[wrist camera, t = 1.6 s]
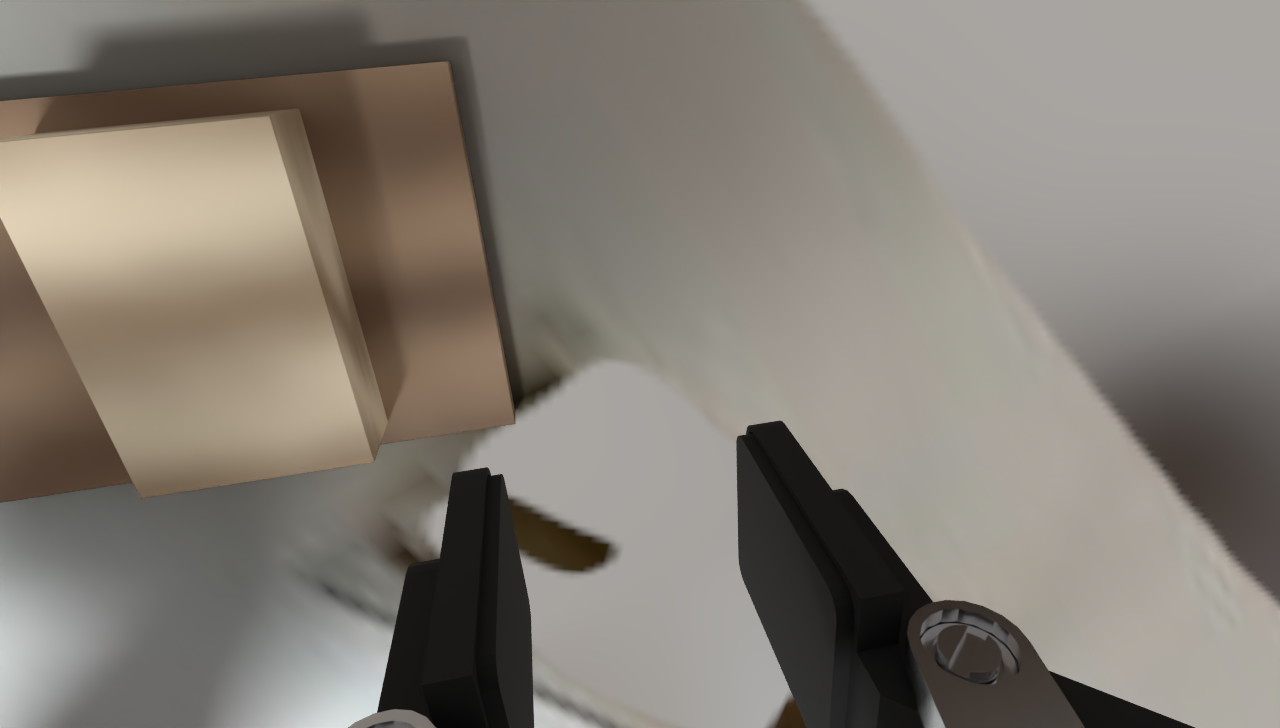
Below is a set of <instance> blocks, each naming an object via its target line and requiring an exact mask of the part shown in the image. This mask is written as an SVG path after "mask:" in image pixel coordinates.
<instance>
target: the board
mask: <svg viewBox="0 0 1280 728" xmlns="http://www.w3.org/2000/svg"><path fill="white" fill-rule="evenodd" d="M298 108H299V110H300V113H301V117H302V120H303V124H304V127H305V131H306V135H307V138H308V142H309V145H310V149H311V152H312V156H313V159H314V163H315V166H316V170H317V173H318V177H319V180H320V184H321V187H322V191H323V194H324V198H325V202H326V205H327V209H328V212H329V216H330V219H331V223H332V226H333V230H334V233H335V237H336V240H337V244H338V247H339V251H340V254H341V258H342V261H343V265H344V269H345V272H346V276H347V279H348V283H349V286H350V290H351V293H352V297H353V300H354V304H355V307H356V311H357V314H358V318H359V321H360V325H361V328H362V332H363V336H364V339H365V343H366V346H367V350H368V353H369V357H370V360H371V364H372V367H373V371H374V374H375V378H376V381H377V385H378V388H379V392H380V395H381V399H382V403H383V406H384V410H385V413H386V417H387V420H388V423H387V426H386V429H385V432H384V435H383V438H382V441H381V443H380V444H387V443H394V442H400V441H407V440H413V439H420V438H426V437H433V436H439V435H446V434H452V433H459V432H465V431H472V430H478V429H485V428H492V427H498V426H505V425H511V424H515V409H514V403H513V398H512V392H511V387H510V382H509V376H508V371H507V365H506V360H505V355H504V349H503V344H502V338H501V333H500V328H499V322H498V317H497V312H496V306H495V301H494V295H493V290H492V285H491V279H490V274H489V268H488V263H487V258H486V252H485V247H484V241H483V236H482V231H481V225H480V220H479V215H478V209H477V204H476V198H475V193H474V188H473V182H472V177H471V171H470V166H469V161H468V155H467V150H466V144H465V139H464V134H463V128H462V123H461V118H460V112H459V107H458V101H457V96H456V91H455V85H454V80H453V74H452V69H451V64H450V61H443V62H432V63H421V64H410V65H398V66H387V67H376V68H365V69H354V70H342V71H331V72H320V73H309V74H297V75H286V76H275V77H264V78H252V79H241V80H230V81H219V82H208V83H196V84H185V85H174V86H163V87H151V88H140V89H129V90H118V91H107V92H95V93H84V94H73V95H62V96H50V97H39V98H28V99H17V100H5V101H0V139H5V138H11V137H17V136H23V135H28V134H34V133H44V132H55V131H66V130H76V129H87V128H97V127H108V126H118V125H129V124H139V123H150V122H161V121H171V120H182V119H192V118H203V117H213V116H224V115H234V114H245V113H256V112H266V111H277V110H287V109H298ZM126 483H132V480H131V478H130V476H129V474H128V472H127V470H126V468H125V466H124V464H123V462H122V460H121V458H120V456H119V454H118V452H117V450H116V448H115V446H114V444H113V442H112V440H111V438H110V436H109V434H108V432H107V430H106V428H105V426H104V424H103V422H102V420H101V418H100V416H99V414H98V412H97V410H96V408H95V406H94V404H93V402H92V400H91V398H90V396H89V394H88V392H87V390H86V388H85V386H84V384H83V382H82V380H81V378H80V376H79V374H78V372H77V370H76V368H75V366H74V364H73V362H72V360H71V358H70V356H69V354H68V352H67V350H66V348H65V346H64V344H63V342H62V340H61V338H60V336H59V334H58V332H57V330H56V328H55V326H54V324H53V322H52V320H51V318H50V316H49V314H48V312H47V310H46V308H45V306H44V304H43V302H42V300H41V298H40V296H39V294H38V292H37V290H36V288H35V286H34V284H33V282H32V280H31V278H30V276H29V274H28V272H27V270H26V268H25V266H24V264H23V262H22V260H21V258H20V256H19V254H18V252H17V250H16V248H15V246H14V244H13V242H12V240H11V238H10V236H9V234H8V232H7V230H6V228H5V226H4V224H3V222H2V220H1V218H0V503H1V502H8V501H15V500H21V499H28V498H34V497H41V496H47V495H54V494H60V493H67V492H73V491H80V490H86V489H93V488H99V487H106V486H113V485H119V484H126Z"/></svg>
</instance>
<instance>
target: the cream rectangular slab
mask: <svg viewBox="0 0 1280 728" xmlns="http://www.w3.org/2000/svg"><path fill="white" fill-rule="evenodd" d="M0 218H1V220H2V222H3V224H4V226H5V228H6V230H7V232H8V234H9V236H10V238H11V240H12V242H13V244H14V246H15V248H16V250H17V252H18V254H19V256H20V258H21V260H22V262H23V264H24V266H25V268H26V270H27V272H28V274H29V276H30V278H31V280H32V282H33V284H34V286H35V288H36V290H37V292H38V294H39V296H40V298H41V300H42V302H43V304H44V306H45V308H46V310H47V312H48V314H49V316H50V318H51V320H52V322H53V324H54V326H55V328H56V330H57V332H58V334H59V336H60V338H61V340H62V342H63V344H64V346H65V348H66V350H67V352H68V354H69V356H70V358H71V360H72V362H73V364H74V366H75V368H76V370H77V372H78V374H79V376H80V378H81V380H82V382H83V384H84V386H85V388H86V390H87V392H88V394H89V396H90V398H91V400H92V402H93V404H94V406H95V408H96V410H97V412H98V414H99V416H100V418H101V420H102V422H103V424H104V426H105V428H106V430H107V432H108V434H109V436H110V438H111V440H112V442H113V444H114V446H115V448H116V450H117V452H118V454H119V456H120V458H121V460H122V462H123V464H124V466H125V468H126V470H127V472H128V474H129V476H130V478H131V480H132V482H133V484H134V486H135V488H136V490H137V492H138V494H139V496H140V498H141V499H142V498H148V497H154V496H161V495H167V494H174V493H180V492H186V491H193V490H199V489H206V488H212V487H219V486H225V485H231V484H238V483H244V482H251V481H257V480H263V479H270V478H276V477H283V476H289V475H296V474H302V473H308V472H315V471H321V470H328V469H334V468H340V467H347V466H353V465H360V464H366V463H373V462H374V461H375V458H376V455H377V452H378V449H379V446H380V443H381V441H382V438H383V435H384V432H385V429H386V426H387V423H388V420H387V417H386V413H385V410H384V406H383V403H382V399H381V395H380V392H379V388H378V385H377V381H376V378H375V374H374V371H373V367H372V364H371V360H370V357H369V353H368V350H367V346H366V343H365V339H364V336H363V332H362V328H361V325H360V321H359V318H358V314H357V311H356V307H355V304H354V300H353V297H352V293H351V290H350V286H349V283H348V279H347V276H346V272H345V269H344V265H343V261H342V258H341V254H340V251H339V247H338V244H337V240H336V237H335V233H334V230H333V226H332V223H331V219H330V216H329V212H328V209H327V205H326V202H325V198H324V194H323V191H322V187H321V184H320V180H319V177H318V173H317V170H316V166H315V163H314V159H313V156H312V152H311V149H310V145H309V142H308V138H307V135H306V131H305V127H304V124H303V120H302V117H301V113H300V110H299V108H298V109H287V110H277V111H266V112H256V113H245V114H234V115H224V116H213V117H203V118H192V119H182V120H171V121H161V122H150V123H139V124H129V125H118V126H108V127H97V128H87V129H76V130H66V131H55V132H44V133H34V134H28V135H23V136H17V137H11V138H5V139H0Z"/></svg>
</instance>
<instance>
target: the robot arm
mask: <svg viewBox="0 0 1280 728" xmlns="http://www.w3.org/2000/svg"><path fill="white" fill-rule="evenodd" d="M737 492H738V493H737V494H738V496H737V497H738V549H739V565H740V570H741V574H742V578H743V581H744V583H745V585H746V588H747V590H748V592H749V594H750V597H751V599H752V601H753V604H754V606H755V609H756V611H757V613H758V616H759V618H760V620H761V623H762V625H763V627H764V630H765V632H766V634H767V637H768V639H769V641H770V643H771V646H772V648H773V650H774V653H775V655H776V657H777V660H778V662H779V664H780V667H781V669H782V671H783V673H784V676H785V678H786V681H787V683H788V685H789V688H790V690H791V692H792V695H793V697H794V699H795V702H796V704H797V706H798V709H799V711H800V713H801V716H802V718H803V720H804V723H805V725H806V727H807V728H1195V727H1192V726H1189V725H1187V724H1184V723H1182V722H1179V721H1177V720H1174V719H1171V718H1169V717H1166V716H1164V715H1161V714H1159V713H1156V712H1154V711H1151V710H1148V709H1146V708H1143V707H1141V706H1138V705H1136V704H1133V703H1130V702H1128V701H1125V700H1123V699H1120V698H1118V697H1115V696H1112V695H1110V694H1107V693H1105V692H1102V691H1100V690H1097V689H1094V688H1092V687H1089V686H1087V685H1084V684H1082V683H1079V682H1076V681H1074V680H1071V679H1069V678H1066V677H1064V676H1061V675H1058V674H1056V673H1053V672H1051V671H1048V669H1047V668H1046V666H1045V664H1044V663H1043V661H1042V660H1041V658H1040V657H1039V655H1038V653H1037V652H1036V650H1035V649H1034V647H1033V646H1032V644H1031V642H1030V641H1029V640H1028V639H1027V637H1026V636H1025V635H1024V634H1023V633H1022V632H1021V630H1020V629H1019V628H1018V627H1017V626H1016V625H1014V624H1013V623H1012V622H1010V621H1009V620H1008V619H1006V618H1005V617H1004V616H1002V615H1000V614H998V613H996V612H994V611H992V610H990V609H988V608H986V607H984V606H981V605H977V604H973V603H969V602H966V601H954V600H943V601H938V602H933V601H932V600H931V599H930V597H929V596H928V595H927V593H926V592H925V591H924V590H923V588H922V587H921V586H920V584H919V583H918V582H917V580H916V579H915V578H914V576H913V575H912V574H911V572H910V571H909V570H908V568H907V567H906V566H905V564H904V563H903V562H902V560H901V559H900V558H899V556H898V555H897V554H896V553H895V551H894V550H893V549H892V547H891V546H890V545H889V543H888V542H887V541H886V539H885V538H884V537H883V535H882V534H881V533H880V531H879V530H878V529H877V527H876V526H875V525H874V523H873V522H872V521H871V519H870V518H869V517H868V516H867V514H866V513H865V512H864V510H863V509H862V508H861V506H860V505H859V504H858V502H857V501H856V500H855V498H854V497H853V496H852V495H851V494H850V493H849V492H848V491H847V490H844V489H838V490H832V489H831V488H830V486H829V485H828V483H827V482H826V481H825V479H824V478H823V477H822V475H821V474H820V472H819V471H818V470H817V468H816V467H815V465H814V464H813V463H812V461H811V460H810V458H809V457H808V456H807V454H806V453H805V452H804V450H803V449H802V447H801V446H800V445H799V443H798V442H797V440H796V439H795V438H794V436H793V435H792V434H791V432H790V431H789V429H788V428H787V427H786V425H785V424H784V423H783V422H782V421H775V422H768V423H762V424H756V425H750V426H748V427H747V431H746V435H741V436H738V437H737ZM348 728H534V711H533V675H532V639H531V614H530V605H529V598H528V593H527V588H526V584H525V579H524V574H523V569H522V564H521V559H520V554H519V549H518V544H517V539H516V534H515V530H514V525H513V520H512V515H511V510H510V505H509V500H508V495H507V490H506V486H505V481H504V477H503V475H502V474H500V475H493V476H491V473H490V470H489V468H480V469H474V470H468V471H462V472H455V473H453V475H452V480H451V487H450V494H449V500H448V507H447V514H446V521H445V527H444V534H443V541H442V548H441V554H440V559H436V560H430V561H424V562H419V563H413V564H411V565H410V566H409V567H408V570H407V573H406V577H405V581H404V586H403V591H402V596H401V601H400V605H399V610H398V615H397V620H396V625H395V629H394V634H393V639H392V644H391V649H390V653H389V658H388V663H387V668H386V673H385V677H384V682H383V687H382V692H381V697H380V701H379V706H378V711H377V713H374V714H372V715H370V716H368V717H366V718H364V719H362V720H359V721H357V722H355V723H354V724H352V725H351V726H350V727H348Z"/></svg>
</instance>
